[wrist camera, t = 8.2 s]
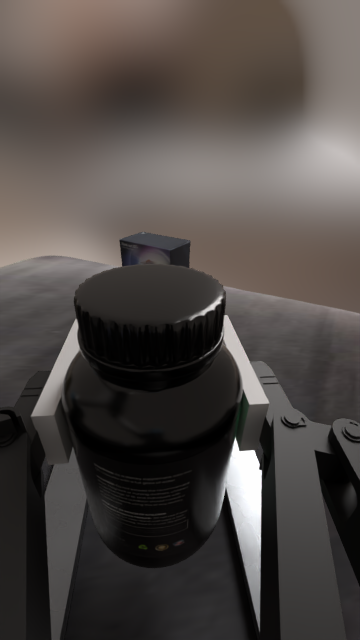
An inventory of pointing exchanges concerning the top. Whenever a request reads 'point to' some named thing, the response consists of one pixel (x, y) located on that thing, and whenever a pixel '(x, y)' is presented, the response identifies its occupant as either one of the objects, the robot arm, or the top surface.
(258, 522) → the rail plate
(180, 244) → the small box
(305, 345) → the top surface
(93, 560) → the top surface
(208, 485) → the supplement bottle
